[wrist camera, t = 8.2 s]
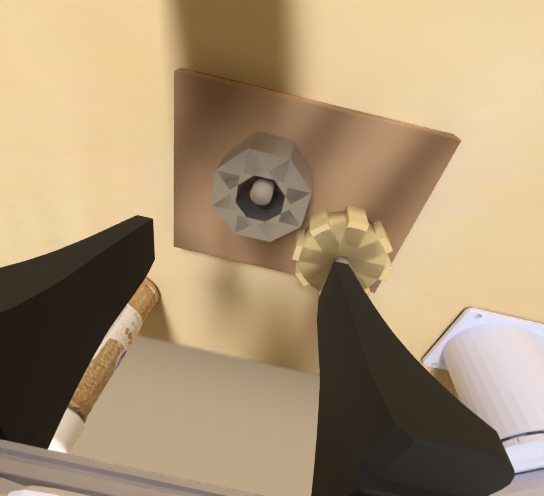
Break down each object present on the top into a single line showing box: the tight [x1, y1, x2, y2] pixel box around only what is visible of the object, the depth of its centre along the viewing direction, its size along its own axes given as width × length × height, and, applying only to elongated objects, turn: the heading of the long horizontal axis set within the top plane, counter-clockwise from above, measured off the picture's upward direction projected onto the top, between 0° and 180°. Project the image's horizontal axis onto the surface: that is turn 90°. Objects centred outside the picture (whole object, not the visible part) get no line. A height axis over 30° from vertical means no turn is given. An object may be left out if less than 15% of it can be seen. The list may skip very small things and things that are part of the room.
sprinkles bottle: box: [48, 278, 159, 454], centre depth 23 cm, size 5×5×13 cm
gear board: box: [174, 68, 461, 295], centre depth 19 cm, size 16×12×4 cm
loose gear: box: [212, 131, 312, 242], centre depth 18 cm, size 5×5×3 cm
